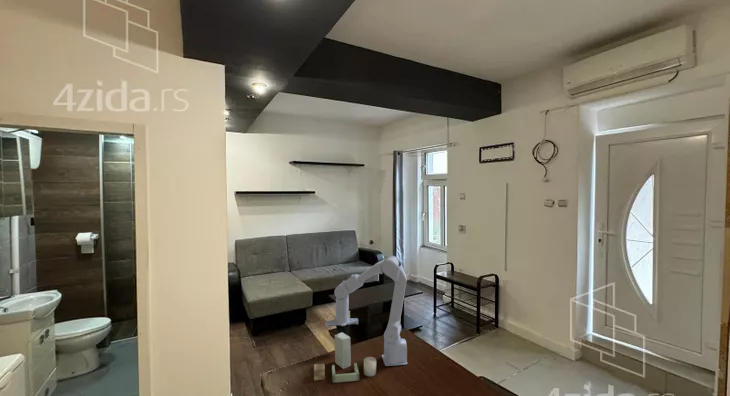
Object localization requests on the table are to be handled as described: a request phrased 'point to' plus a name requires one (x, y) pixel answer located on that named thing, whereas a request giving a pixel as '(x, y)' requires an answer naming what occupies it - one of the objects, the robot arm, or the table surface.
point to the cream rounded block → (369, 366)
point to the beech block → (319, 371)
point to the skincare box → (342, 350)
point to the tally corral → (345, 375)
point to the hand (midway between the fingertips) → (341, 341)
